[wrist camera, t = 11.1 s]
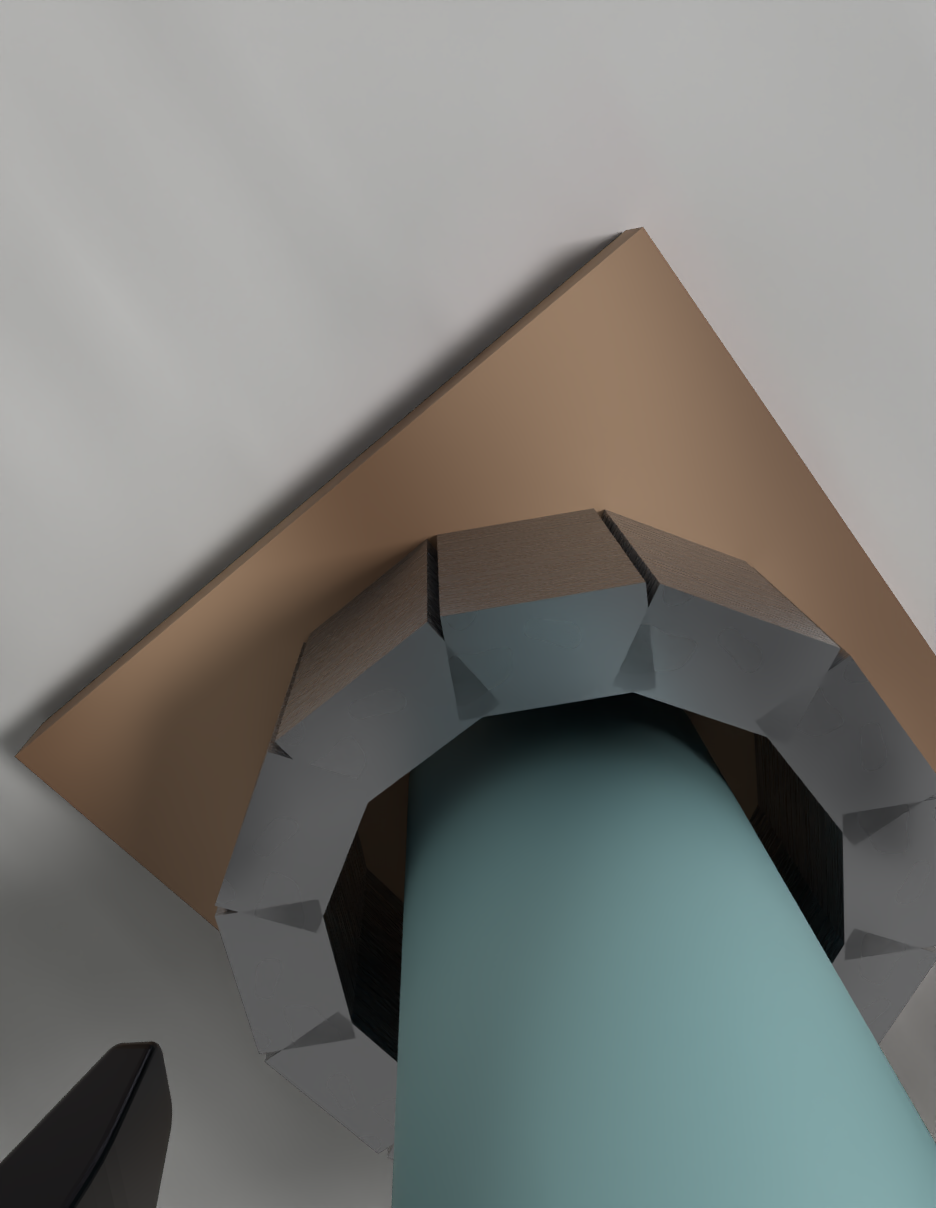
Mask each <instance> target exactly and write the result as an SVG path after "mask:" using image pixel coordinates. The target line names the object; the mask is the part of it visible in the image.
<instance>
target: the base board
mask: <svg viewBox="0 0 936 1208" xmlns="http://www.w3.org/2000/svg"><path fill="white" fill-rule="evenodd" d="M592 508H594V509H595V511H596V512H597V513H598V515H599V516H600V518H601V516H602V514H603V512H604V510H605V509H606V510H608V511H611V512H614V513H616V514H619V515H622V516H624V517H627V518H630V519H633V520H635V521H638V522H641V523H643V524H646V525H649V526H652V527H654V528H657V529H660V530H662V531H665V532H668V533H671V534H673V535H676V536H679V537H681V538H684V539H687V540H689V541H692V542H695V543H698V544H700V545H703V546H706V547H708V548H711V549H714V550H717V551H719V552H722V553H725V554H727V555H730V556H733V557H736V558H738V559H741V560H744V561H746V562H747V563H748V564H749V565H750V566H751V567H754V568H755V569H756V570H757V571H758V572H759V573H760V574H761V575H763V576H764V577H765V578H766V579H767V580H768V581H769V582H770V583H771V584H772V585H774V586H775V587H776V588H777V589H778V590H779V591H780V592H781V593H782V594H783V595H785V596H786V597H787V598H788V599H789V600H790V601H791V602H792V603H793V604H794V605H796V606H797V607H798V608H799V609H800V610H801V611H802V612H803V613H804V614H805V615H807V616H808V617H809V618H810V619H811V620H812V621H813V622H814V623H815V624H816V625H817V626H819V627H820V628H821V629H822V630H823V631H824V632H825V633H826V634H827V635H828V636H830V637H831V638H832V639H833V640H834V641H835V642H836V643H837V644H838V645H839V646H841V647H842V648H843V649H844V650H845V651H846V652H847V653H848V654H849V655H850V656H851V657H852V658H853V660H854V661H855V662H856V664H857V665H858V667H859V668H860V669H861V671H862V672H863V674H864V675H865V676H866V678H867V679H868V680H869V682H870V683H871V685H872V686H873V687H874V689H875V690H876V692H877V693H878V694H879V696H880V697H881V698H882V700H883V701H884V703H885V704H886V705H887V707H888V708H889V710H890V711H891V712H892V714H893V715H894V716H895V718H896V719H897V721H898V722H899V723H900V725H901V726H902V727H903V729H904V730H905V732H906V733H907V734H908V736H909V737H910V739H911V740H912V741H913V743H914V744H915V745H916V747H917V748H918V750H919V751H920V752H921V754H922V755H923V757H924V758H925V759H926V761H927V762H928V763H929V765H930V766H931V768H932V769H933V770H934V772H935V773H936V656H935V654H934V653H933V651H932V650H931V648H930V647H929V645H928V644H927V642H926V641H925V639H924V638H923V636H922V635H921V634H920V632H919V631H918V629H917V628H916V626H915V625H914V623H913V622H912V620H911V619H910V617H909V616H908V615H907V613H906V612H905V610H904V609H903V607H902V606H901V604H900V603H899V601H898V600H897V598H896V597H895V595H894V594H893V593H892V591H891V590H890V588H889V587H888V585H887V584H886V582H885V581H884V579H883V578H882V576H881V575H880V573H879V572H878V571H877V569H876V568H875V566H874V565H873V563H872V562H871V560H870V559H869V557H868V556H867V554H866V553H865V551H864V550H863V549H862V547H861V546H860V544H859V543H858V541H857V540H856V538H855V537H854V535H853V534H852V532H851V531H850V530H849V528H848V527H847V525H846V524H845V522H844V521H843V519H842V518H841V516H840V515H839V513H838V512H837V510H836V509H835V508H834V506H833V505H832V503H831V502H830V500H829V499H828V497H827V496H826V494H825V493H824V491H823V490H822V488H821V487H820V486H819V484H818V483H817V481H816V480H815V478H814V477H813V475H812V474H811V472H810V471H809V469H808V468H807V466H806V465H805V464H804V462H803V461H802V459H801V458H800V456H799V455H798V453H797V452H796V450H795V449H794V447H793V446H792V445H791V443H790V442H789V440H788V439H787V437H786V436H785V434H784V433H783V431H782V430H781V428H780V427H779V425H778V424H777V423H776V421H775V420H774V418H773V417H772V415H771V414H770V412H769V411H768V409H767V408H766V406H765V405H764V403H763V402H762V401H761V399H760V398H759V396H758V395H757V393H756V392H755V390H754V389H753V387H752V386H751V384H750V383H749V382H748V380H747V379H746V377H745V376H744V374H743V373H742V371H741V370H740V368H739V367H738V365H737V364H736V362H735V361H734V360H733V358H732V357H731V355H730V354H729V352H728V351H727V349H726V348H725V346H724V345H723V343H722V342H721V340H720V339H719V338H718V336H717V335H716V333H715V332H714V330H713V329H712V327H711V326H710V324H709V323H708V321H707V320H706V318H705V317H704V316H703V314H702V313H701V311H700V310H699V308H698V307H697V305H696V304H695V302H694V301H693V299H692V298H691V297H690V295H689V294H688V292H687V291H686V289H685V288H684V286H683V285H682V283H681V282H680V280H679V279H678V277H677V276H676V275H675V273H674V272H673V270H672V269H671V267H670V266H669V264H668V263H667V261H666V260H665V258H664V257H663V255H662V254H661V253H660V251H659V250H658V248H657V247H656V245H655V244H654V242H653V241H652V239H651V238H650V236H649V235H648V233H647V232H646V231H645V229H644V228H643V227H641V228H636V229H630V230H626V231H624V232H623V233H622V234H621V235H620V236H618V237H617V238H616V239H615V240H614V241H613V242H611V243H610V244H609V245H608V246H607V247H605V248H604V249H603V250H602V251H601V252H600V253H598V254H597V255H596V256H595V257H594V258H592V259H591V260H590V261H589V262H588V263H587V264H585V265H584V266H583V267H582V268H581V269H579V270H578V271H577V272H576V273H575V274H574V275H572V276H571V277H570V278H569V279H568V280H566V281H565V282H564V283H563V284H562V285H561V286H559V287H558V288H557V289H556V290H555V291H553V292H552V293H551V294H550V295H549V296H548V297H546V298H545V299H544V300H543V301H542V302H540V303H539V304H538V305H537V306H536V307H535V308H533V309H532V310H531V311H530V312H529V313H527V314H526V315H525V316H524V317H523V318H522V319H520V320H519V321H518V322H517V323H516V324H514V325H513V326H512V327H511V328H510V329H509V330H507V331H506V332H505V333H504V334H503V335H501V336H500V337H499V338H498V339H497V340H495V341H494V342H493V343H492V344H491V345H490V346H488V347H487V348H486V349H485V350H484V351H482V352H481V353H480V354H479V355H478V356H477V357H475V358H474V359H473V360H472V361H471V362H469V363H468V364H467V365H466V366H465V367H464V368H462V369H461V370H460V371H459V372H458V373H456V374H455V375H454V376H453V377H452V378H451V379H449V380H448V381H447V382H446V383H445V384H443V385H442V386H441V387H440V388H439V389H438V390H436V391H435V392H434V393H433V394H432V395H430V396H429V397H428V398H427V399H426V400H425V401H423V402H422V403H421V404H420V405H419V406H417V407H416V408H415V409H414V410H413V411H412V412H410V413H409V414H408V415H407V416H406V417H404V418H403V419H402V420H401V421H400V422H399V423H397V424H396V425H395V426H394V427H393V428H391V429H390V430H389V431H388V432H387V433H386V434H384V435H383V436H382V437H381V438H380V439H378V440H377V441H376V442H375V443H374V444H373V445H371V446H370V447H369V448H368V449H367V450H365V451H364V452H363V453H362V454H361V455H360V456H358V457H357V458H356V459H355V460H354V461H352V462H351V463H350V464H349V465H348V466H347V467H345V468H344V469H343V470H342V471H341V472H339V473H338V474H337V475H336V476H335V477H333V478H332V479H331V480H330V481H329V482H328V483H326V484H325V485H324V486H323V487H322V488H320V489H319V490H318V491H317V492H316V493H315V494H313V495H312V496H311V497H310V498H309V499H307V500H306V501H305V502H304V503H303V504H302V505H300V506H299V507H298V508H297V509H296V510H294V511H293V512H292V513H291V514H290V515H289V516H287V517H286V518H285V519H284V520H283V521H281V522H280V523H279V524H278V525H277V526H276V527H274V528H273V529H272V530H271V531H270V532H268V533H267V534H266V535H265V536H264V537H263V538H261V539H260V540H259V541H258V542H257V543H255V544H254V545H253V546H252V547H251V548H250V549H248V550H247V551H246V552H245V553H244V554H242V555H241V556H240V557H239V558H238V559H237V560H235V561H234V562H233V563H232V564H231V565H229V566H228V567H227V568H226V569H225V570H224V571H222V572H221V573H220V574H219V575H218V576H216V577H215V578H214V579H213V580H212V581H211V582H209V583H208V584H207V585H206V586H205V587H203V588H202V589H201V590H200V591H199V592H198V593H196V594H195V595H194V596H193V597H192V598H190V599H189V600H188V601H187V602H186V603H185V604H183V605H182V606H181V607H180V608H179V609H177V610H176V611H175V612H174V613H173V614H171V615H170V616H169V617H168V618H167V619H166V620H164V621H163V622H162V623H161V624H160V625H158V626H157V627H156V628H155V629H154V630H153V631H151V632H150V633H149V634H148V635H147V636H145V637H144V638H143V639H142V640H141V641H140V642H138V643H137V644H136V645H135V646H134V647H132V648H131V649H130V650H129V651H128V652H127V653H125V654H124V655H123V656H122V657H121V658H119V659H118V660H117V661H116V662H115V663H114V664H112V665H111V666H110V667H109V668H108V669H106V670H105V671H104V672H103V673H102V674H101V675H99V676H98V677H97V678H96V679H95V680H93V681H92V682H91V683H90V684H89V685H88V686H86V687H85V688H84V689H83V690H82V691H80V692H79V693H78V694H77V695H76V696H75V697H73V698H72V699H71V700H70V701H69V702H67V703H66V704H65V705H64V706H63V707H62V708H60V709H59V710H58V711H57V712H56V713H54V714H53V715H52V716H51V717H50V718H49V719H47V720H46V721H45V722H44V723H43V724H42V725H41V726H40V727H39V728H38V730H37V731H36V732H35V733H34V734H33V736H32V737H31V738H30V739H29V740H28V741H27V743H26V744H25V745H24V746H23V747H22V749H21V750H20V751H19V752H18V753H17V754H16V756H15V757H16V758H17V759H18V760H19V761H21V762H22V763H23V764H24V765H25V766H26V767H28V768H29V769H30V770H31V771H32V772H33V773H35V774H36V775H37V776H38V777H39V778H40V779H42V780H43V781H44V782H45V783H46V784H47V785H49V786H50V787H51V788H52V789H53V790H54V791H56V792H57V793H58V794H59V795H60V796H62V797H63V798H64V799H65V800H66V801H67V802H69V803H70V804H71V805H72V806H73V807H74V808H76V809H77V810H78V811H79V812H80V813H81V814H83V815H84V816H85V817H86V818H87V819H88V820H90V821H91V822H92V823H93V824H94V825H95V826H97V827H98V828H99V829H100V830H101V831H103V832H104V833H105V834H106V835H107V836H108V837H110V838H111V839H112V840H113V841H114V842H115V843H117V844H118V845H119V846H120V847H121V848H122V849H124V850H125V851H126V852H127V853H128V854H129V855H131V856H132V857H133V858H134V859H135V860H136V861H138V862H139V863H140V864H141V865H142V866H144V867H145V868H146V869H147V870H148V871H149V872H151V873H152V874H153V875H154V876H155V877H156V878H158V879H159V880H160V881H161V882H162V883H163V884H165V885H166V886H167V887H168V888H169V889H170V890H172V891H173V892H174V893H175V894H176V895H178V896H179V897H180V898H181V899H182V900H183V901H185V902H186V903H187V904H188V905H189V906H190V907H192V908H193V909H194V910H195V911H196V912H197V913H199V914H200V915H201V916H202V917H203V918H204V919H206V920H207V921H208V922H209V923H210V924H211V925H213V926H214V927H215V928H216V929H217V930H219V928H218V925H217V922H216V919H215V914H216V910H217V907H218V906H215V903H216V900H217V897H218V894H219V891H220V888H221V885H222V882H223V879H224V876H225V873H226V870H227V867H228V864H229V861H230V858H231V855H232V852H233V849H234V846H235V843H236V840H237V837H238V834H239V831H240V828H241V825H242V822H243V819H244V816H245V813H246V810H247V807H248V804H249V801H250V798H251V795H252V792H253V789H254V786H255V783H256V780H257V777H258V774H259V771H260V768H261V765H262V762H263V759H264V757H265V754H266V751H267V748H268V745H269V742H270V739H271V736H272V733H273V730H274V727H275V724H276V722H277V719H278V716H279V713H280V710H281V707H282V704H283V701H284V698H285V695H286V692H287V689H288V687H289V684H290V681H291V678H292V675H293V672H294V669H295V666H296V663H297V660H298V657H299V654H300V652H301V649H302V646H303V643H304V642H305V643H307V640H308V637H309V634H310V633H311V632H312V631H314V630H315V629H316V628H317V627H319V626H320V625H321V624H322V623H324V622H325V621H326V620H327V619H329V618H330V617H331V616H332V615H334V614H335V613H336V612H337V611H339V610H340V609H341V608H342V607H343V606H345V605H346V604H347V603H348V602H350V601H351V600H352V599H353V598H355V597H356V596H357V595H358V594H360V593H361V592H362V591H363V590H365V589H366V588H367V587H368V586H369V585H371V584H372V583H373V582H374V581H376V580H377V579H378V578H379V577H381V576H382V575H383V574H384V573H386V572H387V571H388V570H389V569H391V568H392V567H393V566H394V565H396V564H397V563H398V562H399V561H400V560H402V559H403V558H404V557H405V556H407V555H408V554H409V553H410V552H412V551H413V550H414V549H415V548H417V547H418V546H419V545H420V544H422V543H423V542H424V541H425V540H426V539H427V540H428V541H429V542H430V543H431V544H432V545H433V547H434V548H435V549H436V550H437V535H438V534H444V533H450V532H456V531H462V530H467V529H473V528H479V527H485V526H491V525H497V524H503V523H509V522H515V521H521V520H527V519H533V518H539V517H545V516H551V515H557V514H562V513H568V512H574V511H580V510H586V509H592ZM437 551H438V550H437ZM683 710H684V711H685V712H686V714H687V715H688V717H689V718H690V720H691V722H692V724H693V725H694V727H695V729H696V730H697V732H698V734H699V736H700V737H701V739H702V741H703V743H704V744H705V746H706V748H707V749H708V751H709V753H710V755H711V756H712V758H713V760H714V762H715V763H716V765H717V767H718V768H719V770H720V772H721V774H722V775H723V777H724V779H725V781H726V782H727V784H728V786H729V787H730V789H731V791H732V793H733V794H734V796H735V798H736V800H737V801H738V803H739V805H740V806H741V808H742V810H743V812H744V813H745V815H746V817H747V819H748V820H750V818H751V816H752V815H753V813H754V811H755V809H756V807H757V806H758V795H757V777H756V759H755V741H754V733H753V732H750V731H747V730H744V729H741V728H738V727H735V726H732V725H729V724H726V723H723V722H720V721H717V720H714V719H711V718H709V717H706V716H703V715H700V714H697V713H694V712H691V711H688V710H685V709H683ZM409 775H410V772H408V773H407V774H406V775H404V776H403V777H402V778H400V779H399V780H398V781H396V782H395V783H394V784H392V785H391V786H389V787H388V788H387V789H385V790H384V791H383V792H381V793H380V794H379V795H377V796H376V797H375V798H373V799H372V800H371V801H369V802H368V804H367V806H366V809H365V811H364V814H363V816H362V819H361V821H360V824H359V826H358V833H359V837H360V841H361V845H362V849H363V853H364V857H365V861H366V866H367V869H368V870H370V871H371V872H372V873H373V874H374V875H375V876H376V877H377V878H378V879H379V880H380V881H381V882H382V883H383V884H384V885H385V886H386V887H387V888H389V889H390V890H391V891H392V892H393V893H394V894H395V895H396V896H397V897H398V898H399V899H400V900H401V901H402V902H403V903H404V888H405V863H406V838H407V813H408V788H409Z"/></svg>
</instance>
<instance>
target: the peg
mask: <svg viewBox="0 0 936 1208" xmlns="http://www.w3.org/2000/svg"><path fill="white" fill-rule="evenodd" d="M392 1208H936V1143H935V1142H934V1140H933V1138H932V1136H931V1135H930V1133H929V1131H928V1129H927V1128H926V1126H925V1124H924V1123H923V1121H922V1119H921V1117H920V1116H919V1114H918V1112H917V1110H916V1109H915V1107H914V1105H913V1104H912V1102H911V1100H910V1098H909V1097H908V1095H907V1093H906V1091H905V1090H904V1088H903V1086H902V1085H901V1083H900V1081H899V1079H898V1078H897V1076H896V1074H895V1072H894V1071H893V1069H892V1067H891V1066H890V1064H889V1062H888V1060H887V1059H886V1057H885V1055H884V1053H883V1052H882V1050H881V1048H880V1047H879V1045H878V1043H877V1041H876V1040H875V1038H874V1036H873V1034H872V1033H871V1031H870V1029H869V1028H868V1026H867V1024H866V1022H865V1021H864V1019H863V1017H862V1015H861V1014H860V1012H859V1010H858V1009H857V1007H856V1005H855V1003H854V1002H853V1000H852V998H851V996H850V995H849V993H848V991H847V990H846V988H845V986H844V984H843V983H842V981H841V979H840V977H839V976H838V974H837V972H836V971H835V969H834V967H833V965H832V964H831V962H830V960H829V958H828V957H827V955H826V953H825V952H824V950H823V948H822V946H821V945H820V943H819V941H818V939H817V938H816V936H815V934H814V933H813V931H812V929H811V927H810V926H809V924H808V922H807V920H806V919H805V917H804V915H803V914H802V912H801V910H800V908H799V907H798V905H797V903H796V901H795V900H794V898H793V896H792V895H791V893H790V891H789V889H788V888H787V886H786V884H785V882H784V881H783V879H782V877H781V876H780V874H779V872H778V870H777V869H776V867H775V865H774V863H773V862H772V860H771V858H770V857H769V855H768V853H767V851H766V850H765V848H764V846H763V844H762V843H761V841H760V839H759V838H758V836H757V834H756V832H755V831H754V829H753V827H752V825H751V824H750V822H749V820H748V819H747V817H746V815H745V813H744V812H743V810H742V808H741V806H740V805H739V803H738V801H737V800H736V798H735V796H734V794H733V793H732V791H731V789H730V787H729V786H728V784H727V782H726V781H725V779H724V777H723V775H722V774H721V772H720V770H719V768H718V767H717V765H716V763H715V762H714V760H713V758H712V756H711V755H710V753H709V751H708V749H707V748H706V746H705V744H704V743H703V741H702V739H701V737H700V736H699V734H698V732H697V730H696V729H695V727H694V725H693V724H692V722H691V720H690V718H689V717H688V715H687V714H686V712H685V711H684V710H683V709H682V708H679V707H676V706H673V705H670V704H667V703H664V702H661V701H658V700H655V699H652V698H649V697H646V696H643V695H640V694H637V693H634V692H631V693H625V694H619V695H613V696H607V697H601V698H595V699H589V700H583V701H577V702H571V703H565V704H559V705H552V706H546V707H540V708H534V709H528V710H522V711H516V712H510V713H504V714H498V715H492V716H486V717H482V718H481V719H479V720H478V721H477V722H475V723H474V724H473V725H471V726H470V727H469V728H467V729H466V730H464V731H463V732H462V733H460V734H459V735H458V736H456V737H455V738H454V739H452V740H451V741H450V742H448V743H447V744H446V745H444V746H443V747H442V748H440V749H439V750H438V751H436V752H435V753H434V754H432V755H431V756H430V757H428V758H427V759H426V760H424V761H423V762H422V763H420V764H419V765H418V766H416V767H415V768H414V769H412V770H411V771H410V775H409V788H408V813H407V838H406V863H405V888H404V913H403V938H402V963H401V987H400V1012H399V1037H398V1062H397V1087H396V1112H395V1137H394V1162H393V1186H392Z"/></svg>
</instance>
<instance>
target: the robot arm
mask: <svg viewBox="0 0 936 1208" xmlns="http://www.w3.org/2000/svg"><path fill="white" fill-rule="evenodd" d="M171 1123H172V1102H171V1096H170V1090H169V1085H168V1080H167V1074H166V1069H165V1063H164V1058H163V1053H162V1050H161V1048H160V1046H159V1044H157V1043H155V1042H133V1043H120V1044H117V1045H115V1046H114V1047H112V1048H111V1049H110V1050H109V1051H107V1053H106V1054H105V1055H104V1056H103V1057H102V1058H101V1059H100V1060H99V1061H98V1062H97V1063H96V1064H95V1065H94V1066H93V1067H92V1068H91V1069H90V1070H89V1071H88V1072H87V1073H86V1074H85V1075H84V1076H83V1078H82V1079H81V1080H80V1081H79V1082H78V1083H77V1084H76V1085H75V1086H74V1087H73V1088H72V1089H71V1090H70V1091H69V1092H68V1093H67V1094H66V1095H65V1096H64V1097H63V1098H62V1099H61V1100H60V1101H59V1102H58V1104H57V1105H56V1106H55V1107H54V1108H53V1109H52V1110H51V1111H50V1112H49V1113H48V1114H47V1115H46V1116H45V1117H44V1118H43V1119H42V1120H41V1121H40V1122H39V1123H38V1124H37V1125H36V1126H35V1127H34V1129H33V1130H32V1131H31V1132H30V1133H29V1134H28V1135H27V1136H26V1137H25V1138H24V1139H23V1140H22V1141H21V1142H20V1143H19V1144H18V1145H17V1146H16V1147H15V1148H14V1149H13V1150H12V1151H11V1152H10V1153H9V1155H8V1156H7V1157H6V1158H5V1159H4V1160H3V1161H2V1162H1V1163H0V1208H156V1206H157V1200H158V1195H159V1190H160V1184H161V1179H162V1174H163V1168H164V1163H165V1158H166V1152H167V1147H168V1142H169V1136H170V1131H171Z"/></svg>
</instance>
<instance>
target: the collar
mask: <svg viewBox="0 0 936 1208" xmlns="http://www.w3.org/2000/svg"><path fill="white" fill-rule="evenodd" d="M437 550H438V551H437ZM437 550H436V549H435V548H434V547H433V545H432V544H431V543H430V542H429V541H428V540H427V539H426V540H425V541H424V542H423V543H422V544H420V545H419V546H418V547H417V548H415V549H414V550H413V551H412V552H410V553H409V554H408V555H407V556H405V557H404V558H403V559H402V560H400V561H399V562H398V563H397V564H396V565H394V566H393V567H392V568H391V569H389V570H388V571H387V572H386V573H384V574H383V575H382V576H381V577H379V578H378V579H377V580H376V581H374V582H373V583H372V584H371V585H369V586H368V587H367V588H366V589H365V590H363V591H362V592H361V593H360V594H358V595H357V596H356V597H355V598H353V599H352V600H351V601H350V602H348V603H347V604H346V605H345V606H343V607H342V608H341V609H340V610H339V611H337V612H336V613H335V614H334V615H332V616H331V617H330V618H329V619H327V620H326V621H325V622H324V623H322V624H321V625H320V626H319V627H317V628H316V629H315V630H314V631H312V632H311V633H310V634H309V637H308V640H307V643H305V642H304V643H303V646H302V649H301V652H300V654H299V657H298V660H297V663H296V666H295V669H294V672H293V675H292V678H291V681H290V684H289V687H288V689H287V692H286V695H285V698H284V701H283V704H282V707H281V710H280V713H279V716H278V719H277V722H276V724H275V727H274V730H273V733H272V736H271V739H270V742H269V745H268V748H267V751H266V754H265V757H264V759H263V762H262V765H261V768H260V771H259V774H258V777H257V780H256V783H255V786H254V789H253V792H252V795H251V798H250V801H249V804H248V807H247V810H246V813H245V816H244V819H243V822H242V825H241V828H240V831H239V834H238V837H237V840H236V843H235V846H234V849H233V852H232V855H231V858H230V861H229V864H228V867H227V870H226V873H225V876H224V879H223V882H222V885H221V888H220V891H219V894H218V897H217V900H216V903H215V906H218V907H217V910H216V914H215V919H216V922H217V925H218V928H219V931H220V934H221V937H222V940H223V944H224V947H225V950H226V953H227V956H228V959H229V962H230V965H231V968H232V971H233V974H234V978H235V981H236V984H237V987H238V990H239V993H240V996H241V999H242V1002H243V1005H244V1008H245V1012H246V1015H247V1018H248V1021H249V1024H250V1027H251V1030H252V1033H253V1036H254V1039H255V1043H256V1046H257V1049H258V1052H259V1054H262V1053H267V1054H266V1059H265V1062H266V1063H267V1064H268V1065H269V1066H271V1067H272V1068H273V1069H274V1070H276V1071H277V1072H278V1073H279V1074H280V1075H282V1076H283V1077H284V1078H285V1079H287V1080H288V1081H289V1082H290V1083H292V1084H293V1085H294V1086H295V1087H297V1088H298V1089H299V1090H300V1091H301V1092H303V1093H304V1094H305V1095H306V1096H308V1097H309V1098H310V1099H311V1100H313V1101H314V1102H315V1103H316V1104H317V1105H319V1106H320V1107H321V1108H322V1109H324V1110H325V1111H326V1112H327V1113H329V1114H330V1115H331V1116H332V1117H334V1118H335V1119H336V1120H337V1121H338V1122H340V1123H341V1124H342V1125H343V1126H345V1127H346V1128H347V1129H348V1130H350V1131H351V1132H352V1133H353V1134H355V1135H356V1136H357V1137H358V1138H359V1139H361V1140H362V1141H363V1142H364V1143H366V1144H367V1145H368V1146H369V1147H371V1148H372V1149H373V1150H374V1151H375V1152H377V1153H380V1152H382V1151H383V1150H385V1149H386V1148H388V1158H389V1159H394V1137H395V1112H396V1087H397V1062H398V1037H399V1012H400V987H401V963H402V938H403V913H404V903H403V902H402V901H401V900H400V899H399V898H398V897H397V896H396V895H395V894H394V893H393V892H392V891H391V890H390V889H389V888H387V887H386V886H385V885H384V884H383V883H382V882H381V881H380V880H379V879H378V878H377V877H376V876H375V875H374V874H373V873H372V872H371V871H370V870H368V869H367V866H366V861H365V857H364V853H363V849H362V845H361V841H360V837H359V833H358V826H359V824H360V821H361V819H362V816H363V814H364V811H365V809H366V806H367V804H368V802H369V801H371V800H372V799H373V798H375V797H376V796H377V795H379V794H380V793H381V792H383V791H384V790H385V789H387V788H388V787H389V786H391V785H392V784H394V783H395V782H396V781H398V780H399V779H400V778H402V777H403V776H404V775H406V774H407V773H408V772H410V771H411V770H412V769H414V768H415V767H416V766H418V765H419V764H420V763H422V762H423V761H424V760H426V759H427V758H428V757H430V756H431V755H432V754H434V753H435V752H436V751H438V750H439V749H440V748H442V747H443V746H444V745H446V744H447V743H448V742H450V741H451V740H452V739H454V738H455V737H456V736H458V735H459V734H460V733H462V732H463V731H464V730H466V729H467V728H469V727H470V726H471V725H473V724H474V723H475V722H477V721H478V720H479V719H481V718H482V717H486V716H492V715H498V714H504V713H510V712H516V711H522V710H528V709H534V708H540V707H546V706H552V705H559V704H565V703H571V702H577V701H583V700H589V699H595V698H601V697H607V696H613V695H619V694H625V693H631V692H634V693H637V694H640V695H643V696H646V697H649V698H652V699H655V700H658V701H661V702H664V703H667V704H670V705H673V706H676V707H679V708H682V709H685V710H688V711H691V712H694V713H697V714H700V715H703V716H706V717H709V718H711V719H714V720H717V721H720V722H723V723H726V724H729V725H732V726H735V727H738V728H741V729H744V730H747V731H750V732H753V733H754V741H755V759H756V777H757V795H758V806H757V807H756V809H755V811H754V813H753V815H752V816H751V818H750V820H749V822H750V824H751V825H752V827H753V829H754V831H755V832H756V834H757V836H758V838H759V839H760V841H761V843H762V844H763V846H764V848H765V850H766V851H767V853H768V855H769V857H770V858H771V860H772V862H773V863H774V865H775V867H776V869H777V870H778V872H779V874H780V876H781V877H782V879H783V881H784V882H785V884H786V886H787V888H788V889H789V891H790V893H791V895H792V896H793V898H794V900H795V901H796V903H797V905H798V907H799V908H800V910H801V912H802V914H803V915H804V917H805V919H806V920H807V922H808V924H809V926H810V927H811V929H812V931H813V933H814V934H815V936H816V938H817V939H818V941H819V943H820V945H821V946H822V948H823V950H824V952H825V953H826V955H827V957H828V958H829V960H830V962H831V964H832V965H833V967H834V969H835V971H836V972H837V974H838V976H839V977H840V979H841V981H842V983H843V984H844V986H845V988H846V990H847V991H848V993H849V995H850V996H851V998H852V1000H853V1002H854V1003H855V1005H856V1007H857V1009H858V1010H859V1012H860V1014H861V1015H862V1017H863V1019H864V1021H865V1022H866V1024H867V1026H868V1028H869V1029H870V1031H871V1033H872V1034H873V1036H874V1038H875V1040H876V1041H877V1043H878V1045H879V1043H880V1042H881V1040H882V1039H883V1037H884V1036H885V1034H886V1033H887V1032H888V1030H889V1029H890V1027H891V1026H892V1024H893V1023H894V1021H895V1020H896V1018H897V1017H898V1015H899V1014H900V1012H901V1011H902V1010H903V1008H904V1007H905V1005H906V1004H907V1002H908V1001H909V999H910V998H911V996H912V995H913V993H914V992H915V990H916V989H917V988H918V986H919V985H920V983H921V982H922V980H923V979H924V977H925V976H926V974H927V973H928V971H929V970H930V968H931V967H932V966H933V964H934V963H935V961H936V948H935V947H934V946H936V773H935V772H934V770H933V769H932V768H931V766H930V765H929V763H928V762H927V761H926V759H925V758H924V757H923V755H922V754H921V752H920V751H919V750H918V748H917V747H916V745H915V744H914V743H913V741H912V740H911V739H910V737H909V736H908V734H907V733H906V732H905V730H904V729H903V727H902V726H901V725H900V723H899V722H898V721H897V719H896V718H895V716H894V715H893V714H892V712H891V711H890V710H889V708H888V707H887V705H886V704H885V703H884V701H883V700H882V698H881V697H880V696H879V694H878V693H877V692H876V690H875V689H874V687H873V686H872V685H871V683H870V682H869V680H868V679H867V678H866V676H865V675H864V674H863V672H862V671H861V669H860V668H859V667H858V665H857V664H856V662H855V661H854V660H853V658H852V657H851V656H850V655H849V654H848V653H847V652H846V651H845V650H844V649H843V648H842V647H841V646H839V645H838V644H837V643H836V642H835V641H834V640H833V639H832V638H831V637H830V636H828V635H827V634H826V633H825V632H824V631H823V630H822V629H821V628H820V627H819V626H817V625H816V624H815V623H814V622H813V621H812V620H811V619H810V618H809V617H808V616H807V615H805V614H804V613H803V612H802V611H801V610H800V609H799V608H798V607H797V606H796V605H794V604H793V603H792V602H791V601H790V600H789V599H788V598H787V597H786V596H785V595H783V594H782V593H781V592H780V591H779V590H778V589H777V588H776V587H775V586H774V585H772V584H771V583H770V582H769V581H768V580H767V579H766V578H765V577H764V576H763V575H761V574H760V573H759V572H758V571H757V570H756V569H755V568H754V567H751V566H750V565H749V564H748V563H747V562H746V561H744V560H741V559H738V558H736V557H733V556H730V555H727V554H725V553H722V552H719V551H717V550H714V549H711V548H708V547H706V546H703V545H700V544H698V543H695V542H692V541H689V540H687V539H684V538H681V537H679V536H676V535H673V534H671V533H668V532H665V531H662V530H660V529H657V528H654V527H652V526H649V525H646V524H643V523H641V522H638V521H635V520H633V519H630V518H627V517H624V516H622V515H619V514H616V513H614V512H611V511H608V510H606V509H605V510H604V512H603V514H602V516H601V518H600V516H599V515H598V513H597V512H596V511H595V509H594V508H592V509H586V510H580V511H574V512H568V513H562V514H557V515H551V516H545V517H539V518H533V519H527V520H521V521H515V522H509V523H503V524H497V525H491V526H485V527H479V528H473V529H467V530H462V531H456V532H450V533H444V534H438V535H437Z"/></svg>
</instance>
